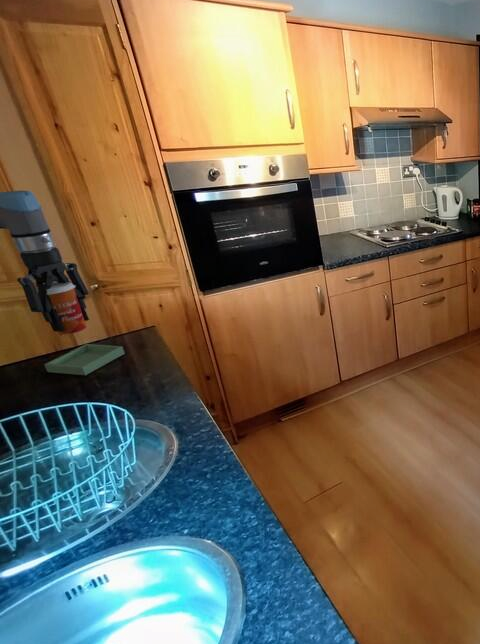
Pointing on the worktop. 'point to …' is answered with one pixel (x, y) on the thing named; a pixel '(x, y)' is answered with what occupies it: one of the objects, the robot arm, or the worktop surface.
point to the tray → (84, 359)
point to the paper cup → (66, 307)
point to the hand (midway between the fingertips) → (71, 325)
